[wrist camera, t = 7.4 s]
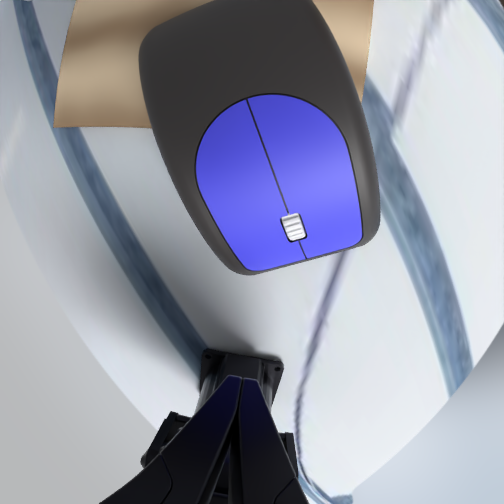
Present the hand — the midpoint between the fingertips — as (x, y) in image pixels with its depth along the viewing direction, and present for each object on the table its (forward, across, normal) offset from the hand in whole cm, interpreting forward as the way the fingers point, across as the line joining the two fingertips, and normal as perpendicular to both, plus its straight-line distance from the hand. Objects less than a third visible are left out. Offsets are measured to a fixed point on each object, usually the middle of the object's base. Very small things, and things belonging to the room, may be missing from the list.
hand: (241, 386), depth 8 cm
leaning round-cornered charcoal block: (+11, +5, -4) cm, 13 cm away
